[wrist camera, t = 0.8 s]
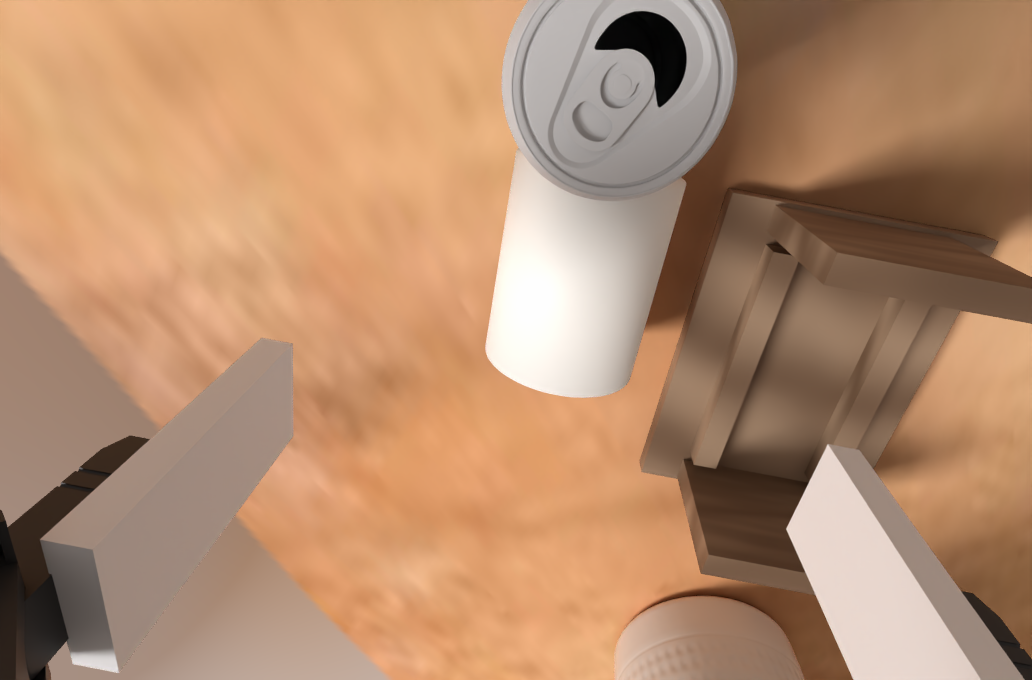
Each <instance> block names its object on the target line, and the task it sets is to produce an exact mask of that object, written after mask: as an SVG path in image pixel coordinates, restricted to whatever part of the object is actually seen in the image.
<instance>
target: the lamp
mask: <svg viewBox="0 0 1032 680" xmlns="http://www.w3.org/2000/svg"><path fill="white" fill-rule="evenodd" d="M614 679H615V680H805V679H804V675H803V673H802V670H801V668H800V665H799V663H798V661H797V658H796V656H795V653H794V651H793V649H792V646H791V644H790V642H789V640H788V638H787V636H786V635H785V633H784V631H783V630H782V629H781V628H780V626H779V625H778V624H777V623H776V622H775V621H774V620H773V619H771V618H770V617H769V616H768V615H766V614H765V613H763V612H761V611H760V610H758V609H756V608H755V607H753V606H750V605H748V604H745V603H743V602H740V601H737V600H733V599H729V598H723V597H716V596H689V597H682V598H677V599H672V600H669V601H666V602H662V603H659V604H657V605H655V606H653V607H651V608H649V609H647V610H645V611H644V612H642V613H640V614H639V615H638V616H637V617H635V618H634V619H633V620H632V621H631V622H630V623H629V624H628V626H627V627H626V628H625V629H624V630H623V632H622V633H621V635H620V637H619V639H618V641H617V645H616V648H615V654H614Z"/></svg>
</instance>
